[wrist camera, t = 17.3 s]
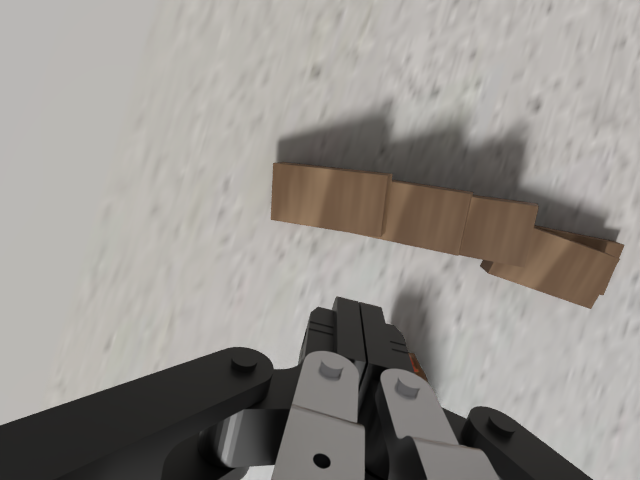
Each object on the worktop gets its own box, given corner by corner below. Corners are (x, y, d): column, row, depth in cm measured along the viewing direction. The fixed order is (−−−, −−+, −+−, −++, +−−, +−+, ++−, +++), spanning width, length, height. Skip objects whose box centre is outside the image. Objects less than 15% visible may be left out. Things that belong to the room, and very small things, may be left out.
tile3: (415, 187, 36) (537, 203, 32) (407, 239, 38) (523, 261, 34) (410, 188, 35) (538, 206, 31) (402, 243, 36) (524, 267, 32)
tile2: (504, 216, 36) (604, 252, 36) (480, 265, 37) (577, 299, 37) (513, 221, 34) (620, 258, 34) (488, 273, 35) (590, 309, 36)
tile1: (508, 218, 38) (609, 239, 38) (491, 267, 39) (590, 287, 39) (517, 223, 36) (624, 245, 36) (500, 274, 37) (603, 295, 37)
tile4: (358, 174, 36) (473, 192, 32) (350, 227, 37) (460, 250, 34) (350, 175, 34) (471, 194, 31) (343, 231, 36) (458, 255, 32)
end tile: (283, 162, 36) (392, 173, 33) (280, 215, 37) (385, 232, 34) (273, 163, 34) (387, 175, 31) (270, 219, 36) (380, 237, 32)
